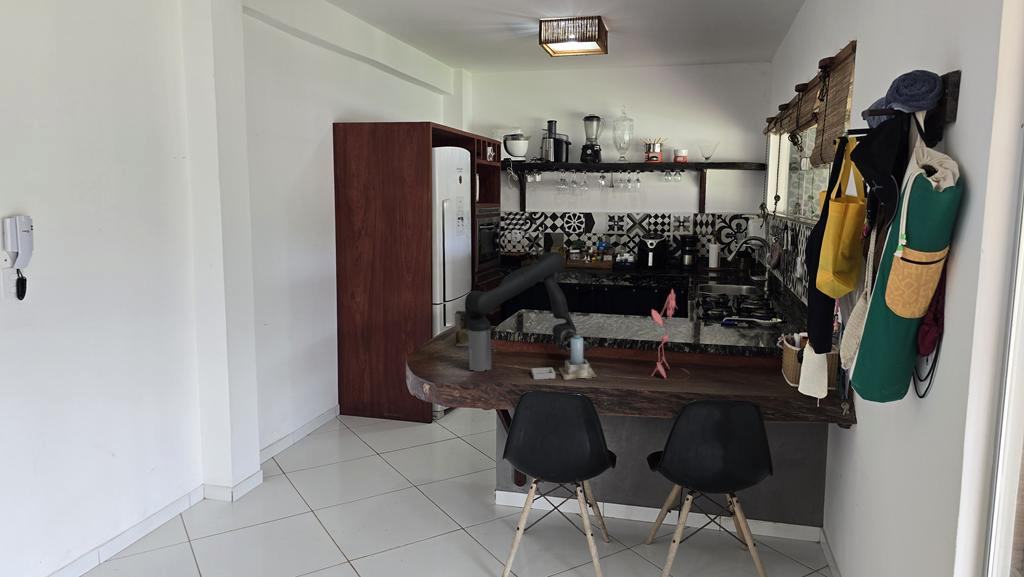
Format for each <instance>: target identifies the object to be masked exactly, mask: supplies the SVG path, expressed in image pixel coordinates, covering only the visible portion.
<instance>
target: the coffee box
mask: <svg viewBox="0 0 1024 577" xmlns="http://www.w3.org/2000/svg"><path fill="white" fill-rule="evenodd" d="M454 323H455V324H454V330H455V346H456V347H469V332H468V324H467V322H466V313H465V310H457V311H456V312H455V313H454Z"/></svg>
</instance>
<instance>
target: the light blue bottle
mask: <svg viewBox="0 0 1024 577" xmlns="http://www.w3.org/2000/svg"><path fill="white" fill-rule="evenodd" d="M583 341H584V338H583V337H582V336H581V335H580V334H578V335H574V337H572V338H571V350H570V360H571V365H582V364H583V359H584V349H583Z"/></svg>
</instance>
